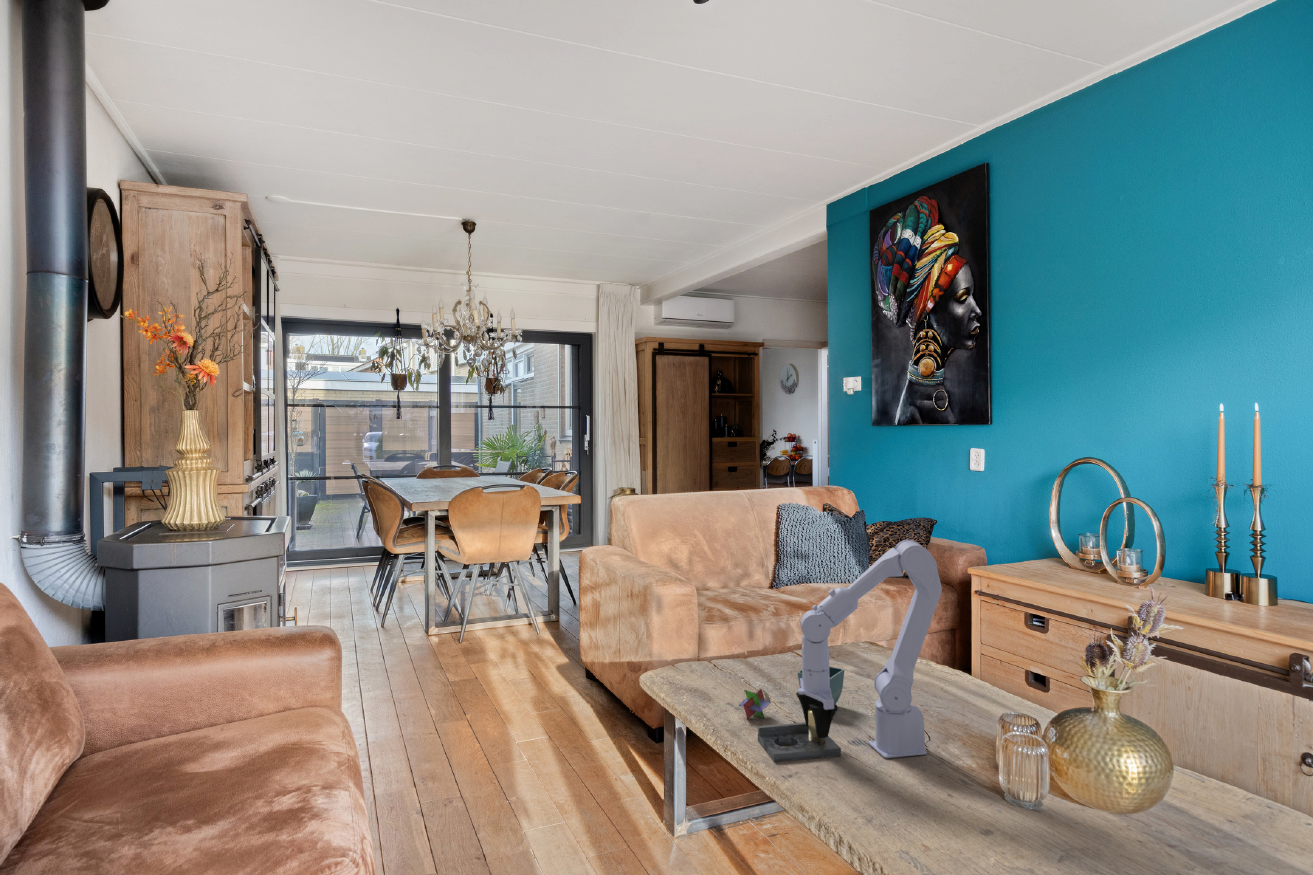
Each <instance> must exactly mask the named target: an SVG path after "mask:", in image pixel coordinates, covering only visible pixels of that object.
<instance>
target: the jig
mask: <svg viewBox="0 0 1313 875" xmlns="http://www.w3.org/2000/svg"><path fill="white" fill-rule="evenodd" d="M757 742H758V743H759V744H760V746H761V747H762V748H763V750H764V751H765V752H766V754H767V756H769V758H770V759H771V760H772V761H773V763H779V762H789V761H790V762H791V761H803V760H810V759H811V760H812V759H823V758H822V757H824V758H832V757H833V758H834V757H841V756H842V748H841V746H839V745H838V744H837V743H836V742H835V741H834V740H833V739H832V738H831V737H830V736H829V735H828V737H827V738H826V740H825V741H824V742H813V741H810V740H809V736H808V727H807V725H806V722H804V721H803V722H795V723H794V722H793V723H792V722H791V723H781V724H768V725H759V726H758V725H757ZM784 745H788V746H784ZM789 745H790V746H789ZM840 755H841V756H840Z"/></svg>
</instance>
